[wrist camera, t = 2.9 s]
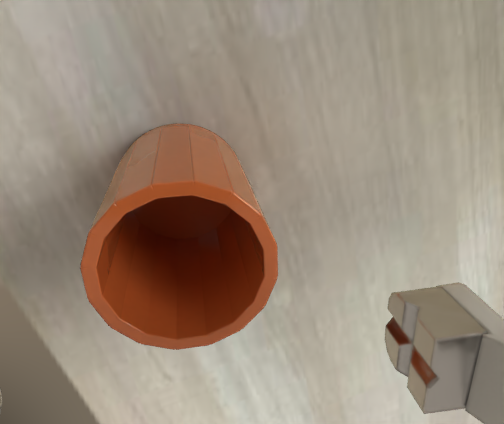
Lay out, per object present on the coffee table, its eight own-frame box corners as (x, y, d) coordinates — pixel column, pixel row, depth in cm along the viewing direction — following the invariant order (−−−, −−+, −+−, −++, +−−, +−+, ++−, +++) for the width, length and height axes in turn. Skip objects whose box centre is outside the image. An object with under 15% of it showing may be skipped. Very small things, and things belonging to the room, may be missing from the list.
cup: (128, 245, 18) (101, 360, 12) (107, 127, 16) (61, 192, 10) (245, 233, 19) (279, 336, 13) (240, 118, 17) (276, 173, 11)
